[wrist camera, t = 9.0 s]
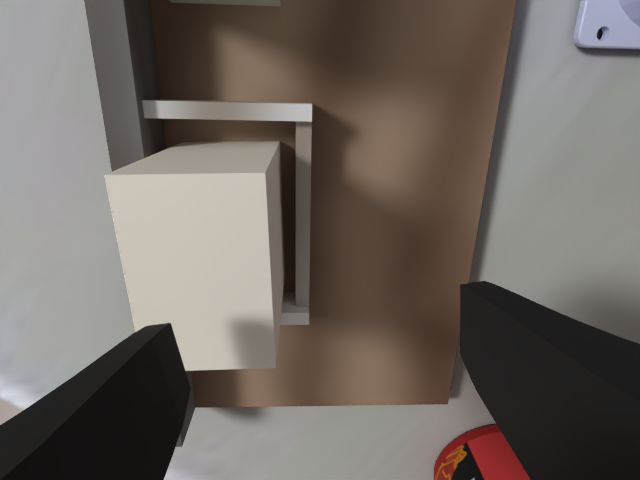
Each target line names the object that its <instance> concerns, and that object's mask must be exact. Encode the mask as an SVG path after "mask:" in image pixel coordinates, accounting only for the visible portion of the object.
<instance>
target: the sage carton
mask: <svg viewBox="0 0 640 480" xmlns="http://www.w3.org/2000/svg"><path fill="white" fill-rule="evenodd" d="M169 1H171V2H172V3H196V4H225V5H255V6H280V0H169Z"/></svg>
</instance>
